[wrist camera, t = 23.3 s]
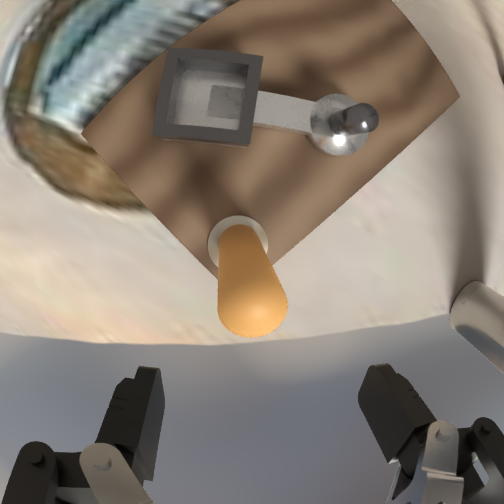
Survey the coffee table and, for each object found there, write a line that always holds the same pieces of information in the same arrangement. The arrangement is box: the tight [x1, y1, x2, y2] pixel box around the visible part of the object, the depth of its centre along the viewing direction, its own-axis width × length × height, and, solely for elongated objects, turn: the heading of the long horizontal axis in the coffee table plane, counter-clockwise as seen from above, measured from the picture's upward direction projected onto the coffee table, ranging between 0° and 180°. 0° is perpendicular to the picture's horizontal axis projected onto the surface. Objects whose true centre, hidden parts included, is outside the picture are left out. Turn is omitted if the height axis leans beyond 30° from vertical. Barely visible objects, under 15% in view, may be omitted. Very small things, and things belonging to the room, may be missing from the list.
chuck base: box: [81, 0, 460, 279], centre depth 25 cm, size 24×39×2 cm, turn 131°
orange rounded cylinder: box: [218, 224, 288, 337], centre depth 22 cm, size 4×4×13 cm
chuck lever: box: [152, 48, 379, 156], centre depth 21 cm, size 19×8×7 cm, turn 82°
